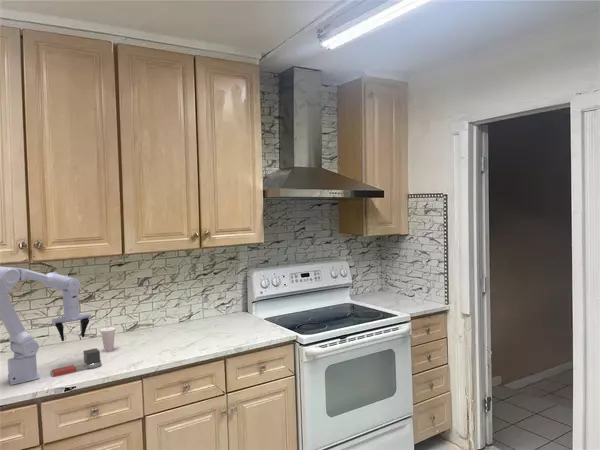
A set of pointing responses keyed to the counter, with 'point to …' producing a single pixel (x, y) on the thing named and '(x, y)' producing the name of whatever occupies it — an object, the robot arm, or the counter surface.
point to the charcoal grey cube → (91, 356)
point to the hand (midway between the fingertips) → (72, 338)
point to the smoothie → (108, 337)
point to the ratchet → (73, 369)
